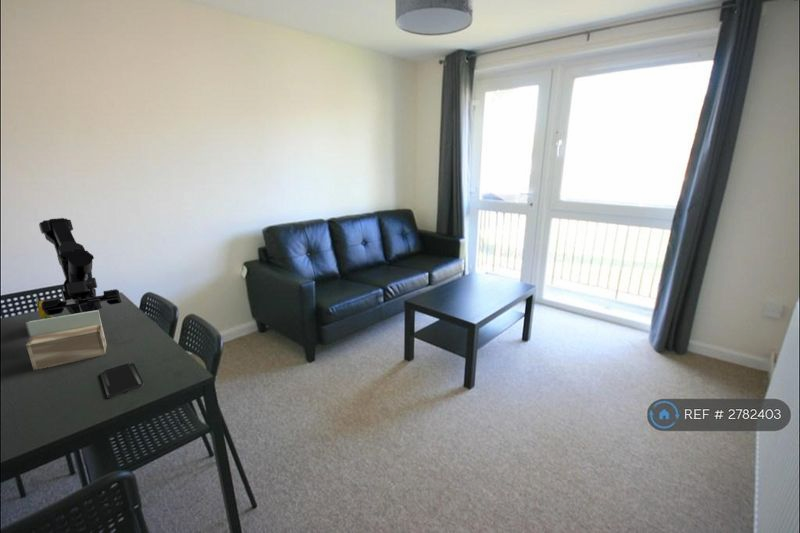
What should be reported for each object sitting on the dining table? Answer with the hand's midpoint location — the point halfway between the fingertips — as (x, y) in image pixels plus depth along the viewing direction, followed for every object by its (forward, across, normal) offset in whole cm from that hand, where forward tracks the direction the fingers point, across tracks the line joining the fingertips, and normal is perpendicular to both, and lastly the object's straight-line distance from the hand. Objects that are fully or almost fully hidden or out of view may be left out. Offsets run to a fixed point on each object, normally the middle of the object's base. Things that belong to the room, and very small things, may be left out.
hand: (86, 326), depth 114 cm
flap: (+6, -5, +5) cm, 9 cm away
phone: (+24, +8, -13) cm, 28 cm away
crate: (+8, -4, +2) cm, 10 cm away
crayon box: (-11, -13, +22) cm, 28 cm away
